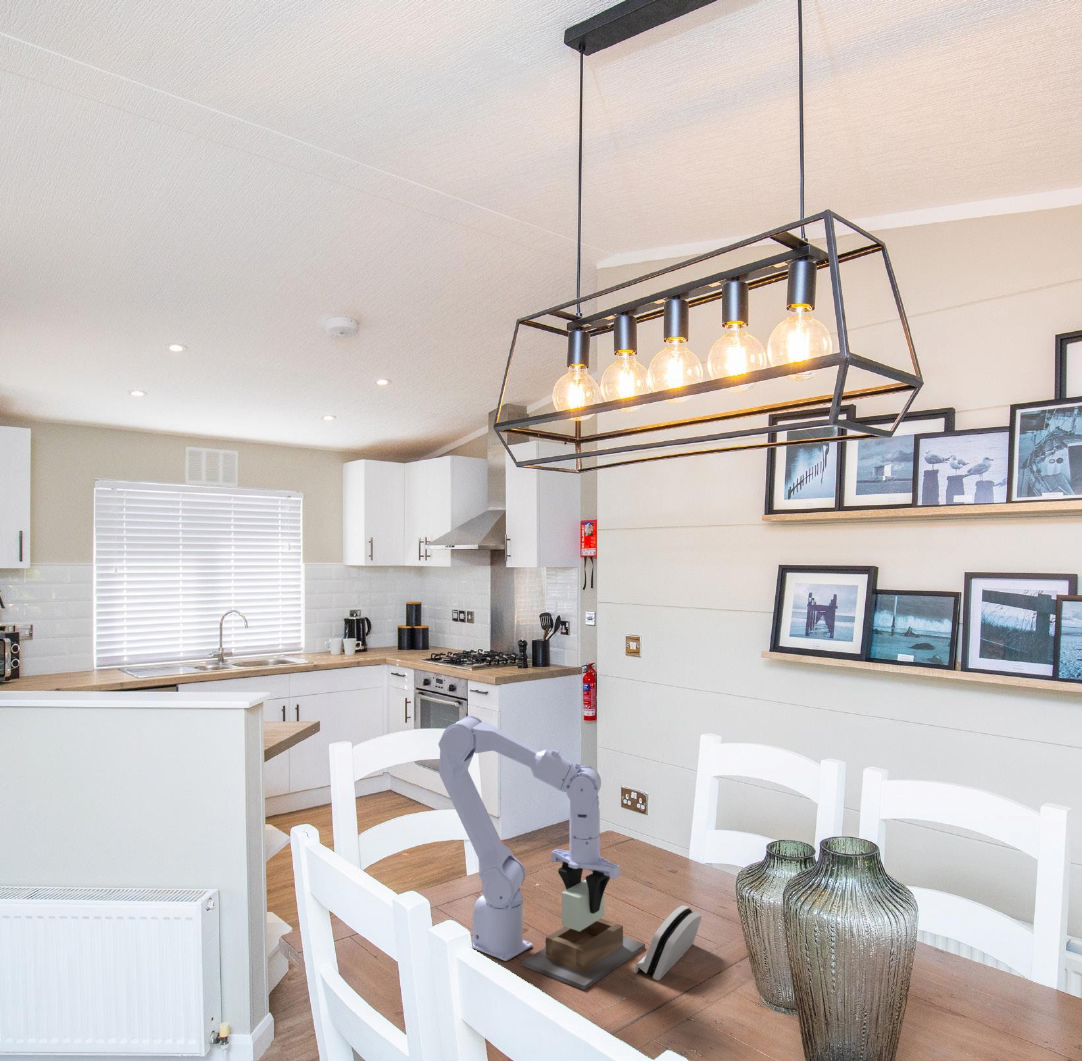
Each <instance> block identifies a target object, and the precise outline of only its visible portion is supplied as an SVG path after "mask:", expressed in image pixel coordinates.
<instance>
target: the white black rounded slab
mask: <svg viewBox="0 0 1082 1061" xmlns="http://www.w3.org/2000/svg"><path fill="white" fill-rule="evenodd" d="M701 921H702V915H701V914H700V913H699V912H698V911H693V910H692V909H691V907H690V906H687V905H684V904H683V905H680V906H678V907H677V908H676V909H674V910H673V911H672V912H671V913H670V914H669V915H668V916H667V917H666V919H665V920H664V921H663V922H662V923H661V925H660V926H659V927H658V929H657V930H656V931H655V933H654V935H653V937H652V940H651V942H650V944H649V947H648V949H647V950H648V951H647V953H646V954H645V956H643V957H642V959H640V960H639V961H638V962H637V963H636V965H635V967H634V970H633V973H634V974H638V973H639V972H640V970H642V971H643V972H644V973H645V974H647V973H648V974H650V973H651V972H652V973H651V975H652V979H653V980H655V981H661V979H662V978H663V977H664V976H665V975H666V974H667V972H669V971H670V970H671V968H672V967H673V966H674V965H676V964H677V962H678V961H679V960H680V959H681V958H682V957H683V956H684V955H685V953H686V952H688V950H689V949H690V948H691V947H692V946H693V945H694V942H695V938H696V936H697V934H698V930H699V926H700V924H701Z"/></svg>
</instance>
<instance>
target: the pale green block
mask: <svg viewBox="0 0 1082 1061" xmlns="http://www.w3.org/2000/svg"><path fill="white" fill-rule="evenodd" d="M603 917H605V892H604V893H603V896H602V900H601V904H600V909H599V911H597V912H596V913H594V914H593V913H590V906H589V890H588V885H587V882H586V878H585V879H584V880H581V882H580V883H578V884H576V885H575V886H573V887H571V888H569V889H567V890H563V891H562V892H561V926H562V927H564V926H565V927H568V928H571V929H574V930H577V931H579V932H580V931H581V930H583V929H585V928H586V927H588V926H589V925H591V924H593V923H594V922H596V921H597V920H599V919H600V918H601V919H603Z"/></svg>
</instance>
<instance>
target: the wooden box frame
mask: <svg viewBox="0 0 1082 1061" xmlns="http://www.w3.org/2000/svg"><path fill="white" fill-rule="evenodd" d="M645 949H646V943H644V942H641V941H639V940H636V939H632V938H630V937H627V936H624V925H621V924H620V923H616V922H613V921H610V920H608V919H607V920H606V919H604V918H600V919H599V920H597V921H596V922H594V923H593V924H591V925H589V926H588V927H586V928H585V929H583V930H581V931H580V932H579V931H577V930H574V929H571V928H568V927H565V926H562V927H561V928H559V929H558V930H556V931H554V932H552V933H551V934H549V935H547V936H545V947H543V948H542V949H540V950H538V951H537V952H535V953H533V954H532V955H530V956H528V957H527V958H525V959H523V960H521V966H523V967H525V968H527V969H530V970H532V971H534V972H537V973H539V974H542V975H544V976H547V977H550V978H552V979H555V980H557V981H559V982H562V983H565V984H567V985H569V986H573V987H575V988H576V989H577V988H578V989H580V990H581V991H586V990H587V989H589V988H590V987H591V986H593V985H594V984H596V983H598V982H599V981H600V980H602V979H603V978H605V977H606V976H608V975H609V974H610V973H611V972H613V971H614V970H616V969H617V968H619V967H621V965H623V964H624V963H625V962H628V961H629V960H630V959H631V958H633V957H634V956H636V955H637V954H639V953H641V951H643V950H645Z"/></svg>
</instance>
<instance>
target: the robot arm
mask: <svg viewBox="0 0 1082 1061" xmlns="http://www.w3.org/2000/svg"><path fill="white" fill-rule="evenodd" d="M441 735H442V736H441V737H440V739H439V742H438V747H439V765H438V766H439V769H438V774H439V776H440V779H441V782H442V783H443V786H444V787H445V790H446V792H447V794H448V796H449V798H450V801H451V803H452V805H453V807H454V808H455V811H456V813H457V815H458V818H459V819H460V823H461V824H462V826H463V829H464V830H465V832H466V835H467V837H468V839H469V842H470V843H471V846H472V847H473V850H474V852H475V854H476V856H477V858H478V875H479V877H480V880H481V884H482V885H481V886H482V888H481V890H482V895H481V896H479V898H477V900H476V901H475V904H474V906H473V911H472V943H473V948H472V949H474V950H477V951H479V952H482V953H485V954H486V955H489V956H492V957H495V958H497V959H499V960H502V961H504V962H507V961H510V960H511V959H512V958H514V957H517V956H519V955H520V954H522V953H524V952H525V951H526V950H528V949H530V948H531V947H533V943H532V942H530V941H527V940H524V896H523V894H522V892H521V886H522V885H523V884H524V882H525V879H526V870H525V867H524V865H523V864H522V862H521V861H520V860H518V858H516V857H515V856H514V855H513V852H512V850H511V848H509V847H508V846H506V845H505V844H504V843H503V842H502V840H501V838H500V835H499V834H498V831H497V829H496V826H495V825H494V823H493V820H492V819H491V816H490V815H489V812H488V810H487V808H486V806H485V804H484V801H483V798H482V797H481V795H480V793H479V791H478V788H477V786H476V785H475V782H474V780H473V779H472V778H473V777H472V776H471V774H470V772H469V767H470V765H471V763H472V760H473V758H474V755H475V754H479V753H486V752H492V751H493V752H496V753H497V754H500V755H502V756H504V757H506V758H508V759H511V760H513V761H515V762H517V763H520V764H521V765H524V766H526V767H528V768H530V770H531V773H532V776H533V778H535V779H538V780H539V781H541V782H543V783H545V784H547V785H549V786H550V787H553V788H555V789H556V790H558V791H561V792H563V793H566V796H567V798H568V799H569V802H570V803H569V804H570V806H569V807H570V808H569V842H568V843H569V850H568V849H567V850H566V849H560V848H556V849H554V850H552V851H551V854H550V856H551V858H550V861H551V862H552V863H557V862H558V863H561V867H559V868H558V871H557V872H558V873H557V874H558V875H559V876H560V878H561V880H562V881H563V884H564V887H565V889H566V890H567V889H569V888H571V887H573V886H575V885H576V884H578V883H580V882H582V877H583V876H582V875H583V871H584V870H587V871H589V872H592V873H590V874H589V875H586V876H585V879H586V882H587V885H588V890H589V906H590V913H593V914H594V913H596V912H597V911H599V909H600V904H601V900H602V896H603V893H604V894H605V890H606V887H607V885H608V883H609V881H610V879H611V880H615V879H617V878H619V877H620V876H621V875H620V874H621V872H620V871H621V866H620V865H618V864H615V863H613V862H611V861H610V860H607V859H606V858H604V857H602V856H601V850H600V849H601V842H600V841H601V838H600V836H601V835H600V834H601V833H600V832H601V828H600V826H601V824H600V823H601V818H600V817H601V816H600V815H601V811H600V808H599V806H600V800H599V799H600V798H599V793H600V789H601V786H602V779H601V776H600V774H599V773H598V771H597V770H595V768H593V767H592V766H591V765H582V763H580V762H578V761H577V762H573V761H571V760H569V759H567V758H566V757H563V756H561V755H560V751H559V750H556V749H555V748H553V749H552V750H549V749H547V748H546V749H543V750H540V751H537V750H536V749H534V748H533V747H531V746H529V745H527V744H525V743H524V742H522V741H521V740H519V739H517V738H516V737H513V736H512V735H510V734H509V733H507V732H504V731H503V730H502V729H500V728H498V727H496V726H495V725H493V724H492V723H491V722H490V721H489V722H488V721H487V720H482V719H480V718H479V717H477V716H475V715H467V716H465V717H462V718H460V720H459V721H457V722H455V723H453V724H450V725H449V726H447V728H445V729H444V731H443V733H442V734H441ZM474 944H475V945H474Z"/></svg>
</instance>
